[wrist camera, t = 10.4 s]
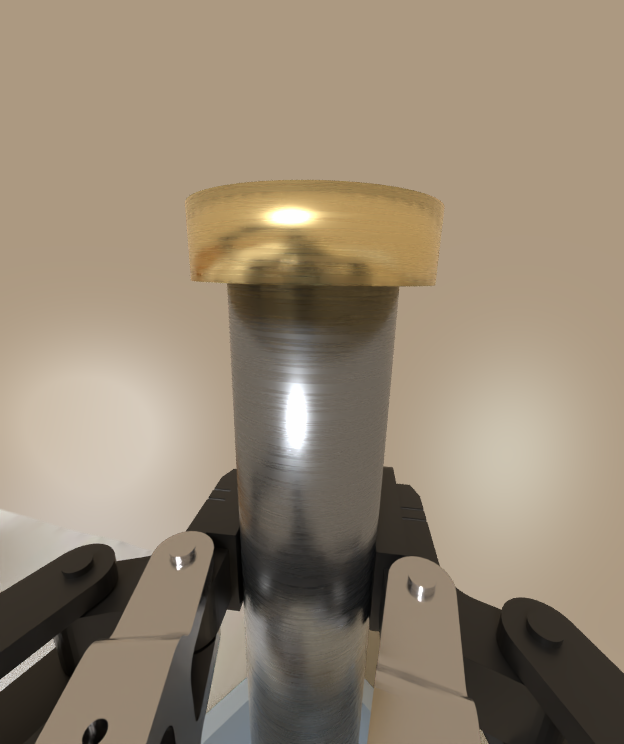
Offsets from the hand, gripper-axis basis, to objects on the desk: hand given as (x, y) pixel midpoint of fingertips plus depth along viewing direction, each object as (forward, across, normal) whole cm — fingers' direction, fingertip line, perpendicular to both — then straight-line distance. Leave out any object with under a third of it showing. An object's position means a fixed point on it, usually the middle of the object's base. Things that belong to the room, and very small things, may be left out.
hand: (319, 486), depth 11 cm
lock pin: (-3, 0, +10) cm, 10 cm away
